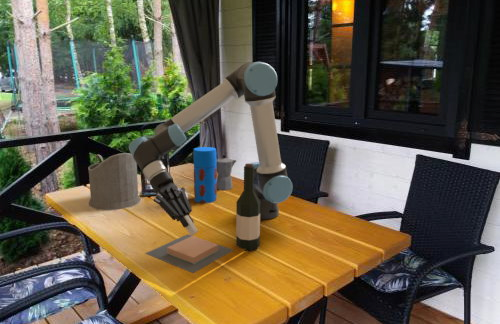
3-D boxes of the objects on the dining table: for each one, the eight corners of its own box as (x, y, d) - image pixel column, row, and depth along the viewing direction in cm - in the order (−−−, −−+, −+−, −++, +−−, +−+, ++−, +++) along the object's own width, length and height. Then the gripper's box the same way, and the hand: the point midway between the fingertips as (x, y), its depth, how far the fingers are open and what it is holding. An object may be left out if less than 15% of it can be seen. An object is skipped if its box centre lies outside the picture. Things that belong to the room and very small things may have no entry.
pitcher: (100, 214, 169) (96, 157, 163) (74, 196, 192) (70, 146, 186) (149, 202, 184) (147, 150, 179) (120, 188, 207) (117, 141, 201)
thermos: (212, 204, 183) (212, 151, 178) (191, 202, 185) (190, 150, 180) (219, 197, 194) (219, 147, 188) (198, 195, 196) (197, 146, 190)
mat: (145, 255, 131) (145, 253, 131) (187, 236, 147) (187, 234, 147) (193, 275, 119) (193, 273, 118) (233, 252, 135) (233, 249, 134)
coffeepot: (234, 184, 216) (234, 152, 212) (238, 189, 207) (238, 156, 203) (206, 186, 212) (206, 153, 208) (209, 191, 204) (208, 157, 200)
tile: (167, 247, 130) (193, 257, 123) (192, 235, 139) (218, 244, 133) (167, 254, 130) (193, 264, 124) (192, 242, 140) (218, 251, 133)
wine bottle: (246, 239, 145) (247, 160, 138) (264, 245, 140) (266, 164, 133) (231, 246, 139) (231, 164, 132) (249, 253, 133) (250, 168, 127)
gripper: (167, 179, 143) (202, 232, 137) (138, 187, 132) (174, 245, 127) (177, 167, 138) (213, 222, 133) (148, 174, 128) (186, 234, 122)
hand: (194, 233), depth 130 cm, fingers closed
